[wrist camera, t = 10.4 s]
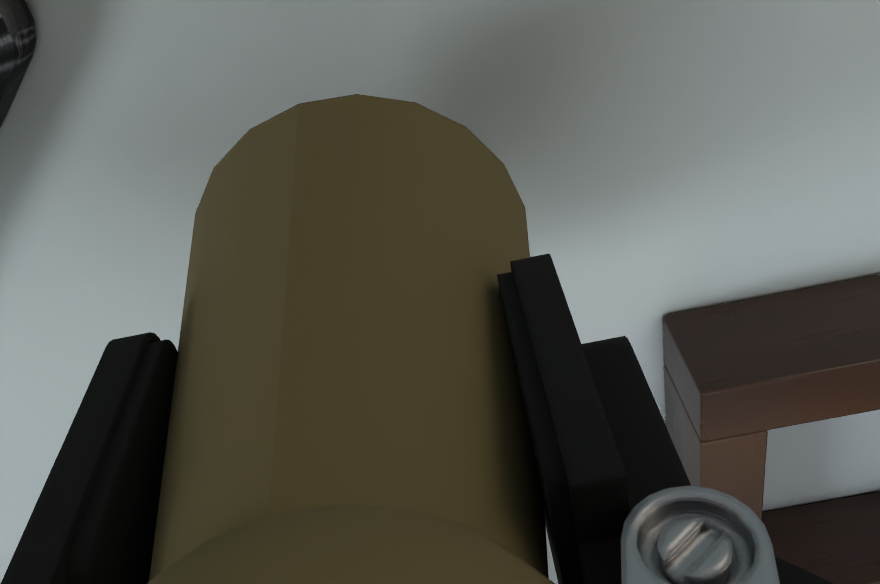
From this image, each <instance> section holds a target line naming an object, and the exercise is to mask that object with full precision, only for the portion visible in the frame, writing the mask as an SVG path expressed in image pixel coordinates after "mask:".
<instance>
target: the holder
mask: <svg viewBox="0 0 880 584" xmlns="http://www.w3.org/2000/svg"><path fill="white" fill-rule="evenodd" d="M662 320H663V349H664V363H665V365H664V376H665V404H666V428H667V430H668V432H669V435H670V437H671V439H672V442H673V444H674V446H675V449H676V451H677V453H678V456H679V458H680V460H681V463H682V465H683V467H684V470H685V472H686V474H687V477H688V479H689V481H690V484H691V486H697V487H705V488H712V489H714V490H717V491H720V492H723V493H725V494H728V495H731V496H733V497H734V498H736V499H737V500H739V501H740V502H742V503H743V504H745V505H746V506H748V507H749V508H751V509H752V511H753V512H754V513H755V514H756V515H757V517H758V518H759V519H760V520H761V521H762V522H763V524H764V525H765V527H766V530H767V532H768V535H769V537H770V540H771V542H772V546H773V551H774V556H776V557H778V558H780V559H782V560H785V561H787V562H789V563H791V564H793V565H795V566H797V567H800V568H802V569H804V570H806V571H808V572H810V573H812V574H815V575H817V576H819V577H821V578H823V579H825V580H827V581H830V582H832V583H834V584H880V492H876V493H870V494H864V495H859V496H853V497H847V498H842V499H836V500H830V501H825V502H819V503H814V504H808V505H802V506H797V507H791V508H785V509H780V510H774V511H768V512H763V513H762V506H763V491H764V477H765V462H766V447H767V430H769V429H775V428H780V427H786V426H791V425H797V424H802V423H808V422H813V421H819V420H824V419H830V418H835V417H841V416H846V415H852V414H857V413H863V412H868V411H874V410H879V409H880V274H879V275H873V276H868V277H863V278H858V279H852V280H847V281H842V282H837V283H831V284H826V285H821V286H816V287H811V288H805V289H800V290H795V291H790V292H784V293H779V294H774V295H769V296H763V297H758V298H753V299H748V300H742V301H737V302H732V303H727V304H721V305H716V306H711V307H706V308H700V309H695V310H690V311H685V312H680V313H674V314H669V315H665V316H663V319H662Z"/></svg>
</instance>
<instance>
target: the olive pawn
mask: <svg viewBox="0 0 880 584" xmlns="http://www.w3.org/2000/svg"><path fill="white" fill-rule="evenodd" d="M529 257H530V253H529V242H528V232H527V222H526V211H525V206H524V204H523V202H522V200H521V198H520V196H519V194H518V192H517V190H516V188H515V186H514V184H513V182H512V180H511V178H510V176H509V174H508V171H507V169H506V167H505V165H504V164H503V163H502V162H501V161H500V160H499V159H498V158H497V157H496V156H495V155H494V154H493V153H492V152H491V151H490V150H489V149H488V148H487V147H486V146H485V145H484V144H483V143H482V142H481V141H480V140H479V139H478V138H477V137H476V136H475V135H474V134H473V133H472V132H471V131H470V130H469V129H468V128H466V127H465V126H463V125H461V124H459V123H457V122H455V121H453V120H450V119H448V118H446V117H444V116H442V115H440V114H438V113H436V112H434V111H432V110H430V109H428V108H426V107H423V106H421V105H419V104H417V103H415V102H408V101H401V100H394V99H387V98H380V97H373V96H366V95H359V94H355V95H349V96H343V97H337V98H330V99H324V100H318V101H312V102H306V103H300V104H298V105H296V106H294V107H292V108H290V109H288V110H286V111H284V112H282V113H280V114H278V115H276V116H275V117H273V118H271V119H269V120H267V121H265V122H263V123H261V124H259V125H257V126H255V127H253V128H251V129H250V130H249V131H248V132H247V133H246V134H245V135H244V136H243V137H242V138H241V139H240V140H239V141H238V142H237V143H236V145H235V146H234V147H233V148H232V149H231V150H230V151H229V152H228V153H227V154H226V155H225V156H224V157H223V159H222V160H221V161H220V162H219V163H218V164H217V165H216V166H215V167H214V168H213V171H212V173H211V176H210V178H209V181H208V183H207V186H206V188H205V191H204V193H203V196H202V198H201V201H200V203H199V206H198V208H197V211H196V213H195V221H194V229H193V237H192V244H191V252H190V260H189V268H188V276H187V284H186V292H185V300H184V308H183V316H182V324H181V332H180V340H179V347H178V355H177V363H176V371H175V379H174V387H173V395H172V403H171V411H170V419H169V427H168V435H167V443H166V450H165V458H164V466H163V474H162V482H161V490H160V498H159V506H158V514H157V522H156V530H155V538H154V545H153V553H152V561H151V569H150V577H149V582H148V583H147V584H554V583H553V582H552V581H550V580H549V578H548V561H547V544H546V527H545V510H544V503H543V495H542V488H541V483H540V478H539V473H538V468H537V464H536V459H535V454H534V449H533V445H532V440H531V435H530V430H529V426H528V421H527V416H526V411H525V407H524V402H523V397H522V392H521V388H520V383H519V378H518V373H517V369H516V364H515V359H514V354H513V350H512V345H511V341H510V336H509V331H508V327H507V322H506V318H505V313H504V309H503V304H502V299H501V295H500V290H499V284H498V279H497V274H502V273H508V272H511V265H510V261H514V260H519V259H524V258H529Z"/></svg>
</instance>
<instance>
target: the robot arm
mask: <svg viewBox="0 0 880 584" xmlns="http://www.w3.org/2000/svg"><path fill="white" fill-rule="evenodd" d="M510 265H511V272H508V273H502V274H497V279H498V284H499V290H500V295H501V299H502V304H503V309H504V313H505V318H506V322H507V327H508V331H509V336H510V341H511V345H512V350H513V354H514V359H515V364H516V369H517V373H518V378H519V383H520V388H521V392H522V397H523V402H524V407H525V411H526V416H527V421H528V426H529V430H530V435H531V440H532V445H533V449H534V454H535V459H536V464H537V468H538V473H539V478H540V483H541V488H542V495H543V503H544V510H545V524H546V529H547V533H548V538H549V542H550V547H551V552H552V556H553V561H554V565H555V570H556V574H557V579H558V583H559V584H834V583H832V582H830V581H827V580H825V579H823V578H821V577H819V576H817V575H815V574H812V573H810V572H808V571H806V570H804V569H802V568H800V567H797V566H795V565H793V564H791V563H789V562H787V561H785V560H782V559H780V558H778V557H776V556H774V551H773V546H772V542H771V540H770V537H769V535H768V532H767V530H766V527H765V525H764V524H763V522H762V521H761V520H760V519H759V518H758V517H757V515H756V514H755V513H754V512H753V511H752V509H751V508H749V507H748V506H746V505H745V504H743V503H742V502H740V501H739V500H737V499H736V498H734V497H733V496H731V495H728V494H725V493H723V492H720V491H717V490H714V489H712V488H705V487H697V486H691V484H690V481H689V479H688V477H687V474H686V472H685V470H684V467H683V465H682V463H681V460H680V458H679V456H678V453H677V451H676V449H675V446H674V444H673V442H672V439H671V437H670V435H669V432H668V430H667V428H666V425H665V423H664V421H663V418H662V416H661V414H660V411H659V409H658V407H657V404H656V402H655V400H654V397H653V395H652V393H651V390H650V388H649V386H648V383H647V381H646V379H645V376H644V374H643V372H642V369H641V367H640V365H639V362H638V360H637V358H636V355H635V353H634V351H633V348H632V346H631V344H630V342H629V340H628V339H627V338H626V337H625V336H622V337H617V338H612V339H606V340H601V341H596V342H591V343H585V344H581V342H580V339H579V336H578V333H577V330H576V328H575V325H574V322H573V319H572V316H571V313H570V310H569V307H568V304H567V302H566V299H565V296H564V293H563V290H562V287H561V284H560V281H559V278H558V276H557V273H556V270H555V267H554V264H553V261H552V258H551V256H550V254H545V255H539V256H534V257H529V258H524V259H519V260H514V261H510ZM177 355H178V352H177V350H176V348H175V346H174V344H173V343H172V342H171V341H170V340H162V341H161V340H160V339H159V337H158V336H157V335H156V334H154V333H151V332H150V333H145V334H140V335H135V336H130V337H124V338H119V339H114V340H112V341H110V342H109V343H108V345H107V346H106V348H105V350H104V353H103V355H102V357H101V360H100V362H99V364H98V366H97V369H96V371H95V373H94V375H93V378H92V380H91V382H90V384H89V387H88V389H87V391H86V393H85V396H84V398H83V400H82V402H81V405H80V407H79V409H78V411H77V414H76V416H75V418H74V420H73V423H72V425H71V427H70V429H69V432H68V434H67V436H66V438H65V441H64V443H63V445H62V447H61V450H60V452H59V454H58V456H57V458H56V460H55V463H54V465H53V467H52V469H51V472H50V474H49V476H48V479H47V481H46V483H45V485H44V488H43V490H42V492H41V494H40V497H39V499H38V501H37V503H36V506H35V508H34V510H33V512H32V515H31V517H30V519H29V521H28V524H27V526H26V528H25V530H24V533H23V535H22V537H21V539H20V542H19V544H18V546H17V548H16V551H15V553H14V555H13V557H12V560H11V562H10V564H9V566H8V569H7V571H6V573H5V575H4V578H3V580H2V582H1V584H147V583H148V582H149V577H150V569H151V561H152V553H153V545H154V538H155V530H156V522H157V514H158V506H159V498H160V490H161V482H162V474H163V466H164V458H165V450H166V443H167V435H168V427H169V419H170V411H171V403H172V395H173V387H174V379H175V371H176V363H177Z"/></svg>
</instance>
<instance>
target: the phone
mask: <svg viewBox="0 0 880 584" xmlns="http://www.w3.org/2000/svg"><path fill="white" fill-rule="evenodd" d="M35 42H36V34H35V26H34V19H33V17H32V15H31V13H30V10H29V8H28V6H27V4H26V2H25V0H0V127H1V125H2V123H3V121H4V118H5V116H6V114H7V112H8V109H9V107H10V105H11V103H12V100H13V98H14V96H15V94H16V91H17V89H18V87H19V85H20V83H21V80H22V78H23V76H24V74H25V71H26V69H27V67H28V65H29V62H30V60H31V58H32V55H33V51H34V47H35Z"/></svg>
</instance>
